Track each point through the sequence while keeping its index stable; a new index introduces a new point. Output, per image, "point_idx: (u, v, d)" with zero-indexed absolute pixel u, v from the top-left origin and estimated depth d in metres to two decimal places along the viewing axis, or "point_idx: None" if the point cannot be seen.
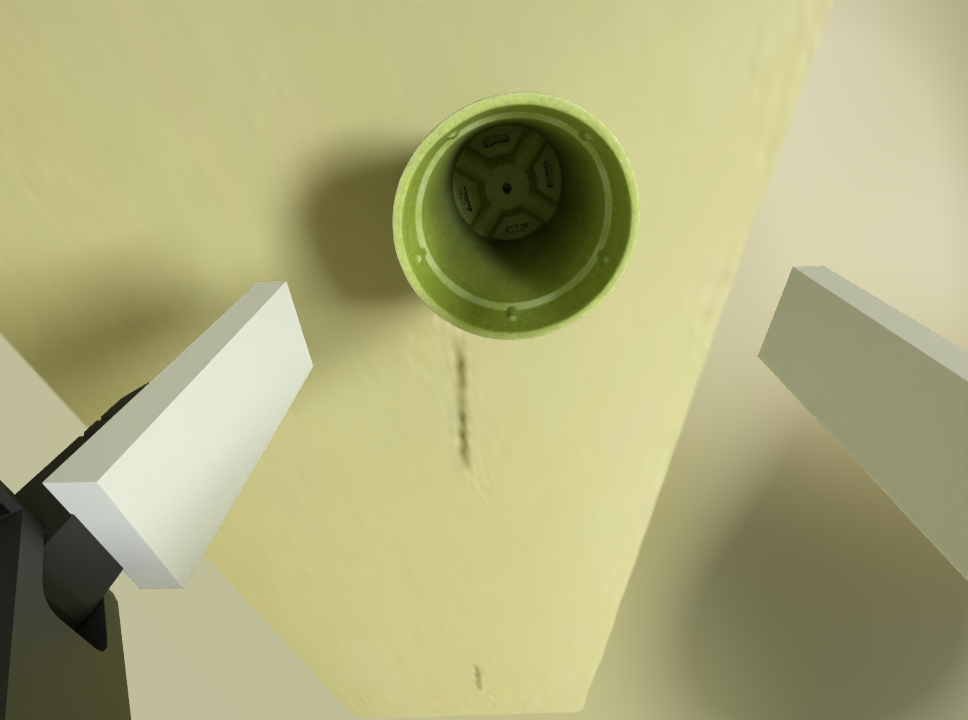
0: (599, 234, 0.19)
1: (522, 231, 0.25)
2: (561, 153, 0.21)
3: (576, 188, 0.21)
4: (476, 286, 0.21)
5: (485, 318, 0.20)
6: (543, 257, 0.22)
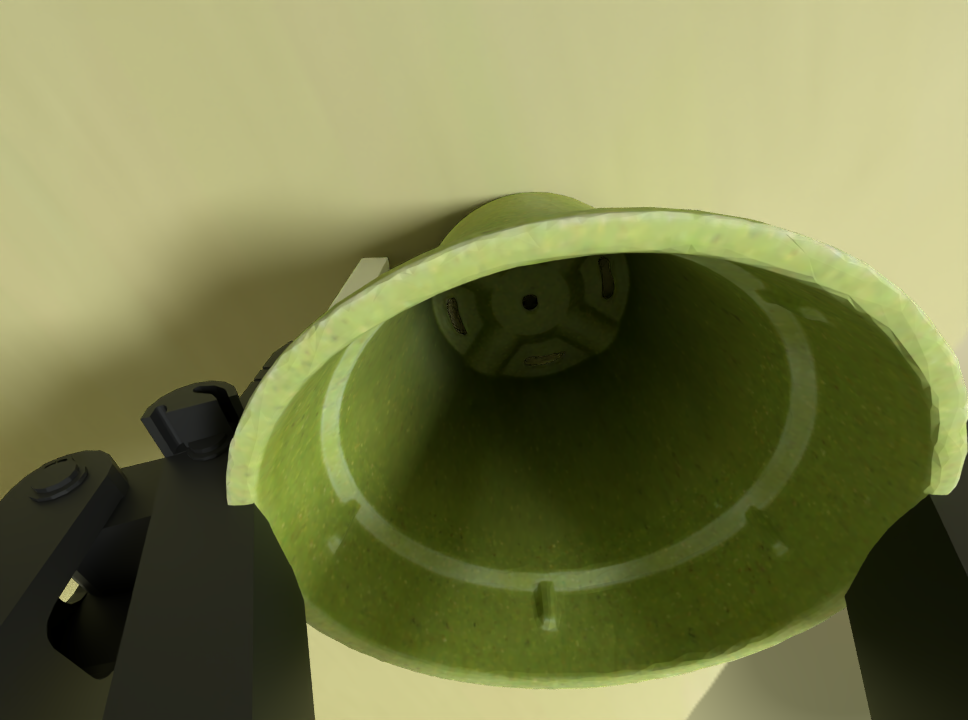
0: (753, 473, 0.08)
1: (554, 364, 0.14)
2: (642, 256, 0.11)
3: (673, 328, 0.10)
4: (473, 528, 0.10)
5: (491, 624, 0.09)
6: (599, 441, 0.12)
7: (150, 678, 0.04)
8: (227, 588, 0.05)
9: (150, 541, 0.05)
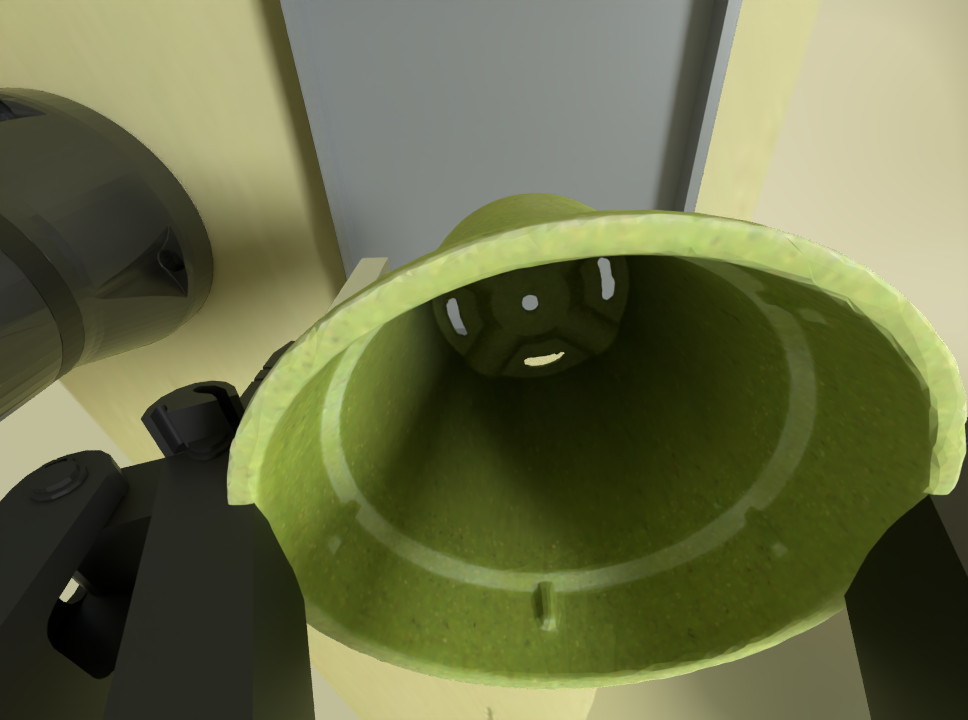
0: (752, 473, 0.08)
1: (554, 365, 0.14)
2: (642, 257, 0.11)
3: (673, 329, 0.10)
4: (472, 528, 0.10)
5: (491, 624, 0.09)
6: (599, 442, 0.12)
7: (151, 678, 0.04)
8: (228, 586, 0.05)
9: (151, 541, 0.05)
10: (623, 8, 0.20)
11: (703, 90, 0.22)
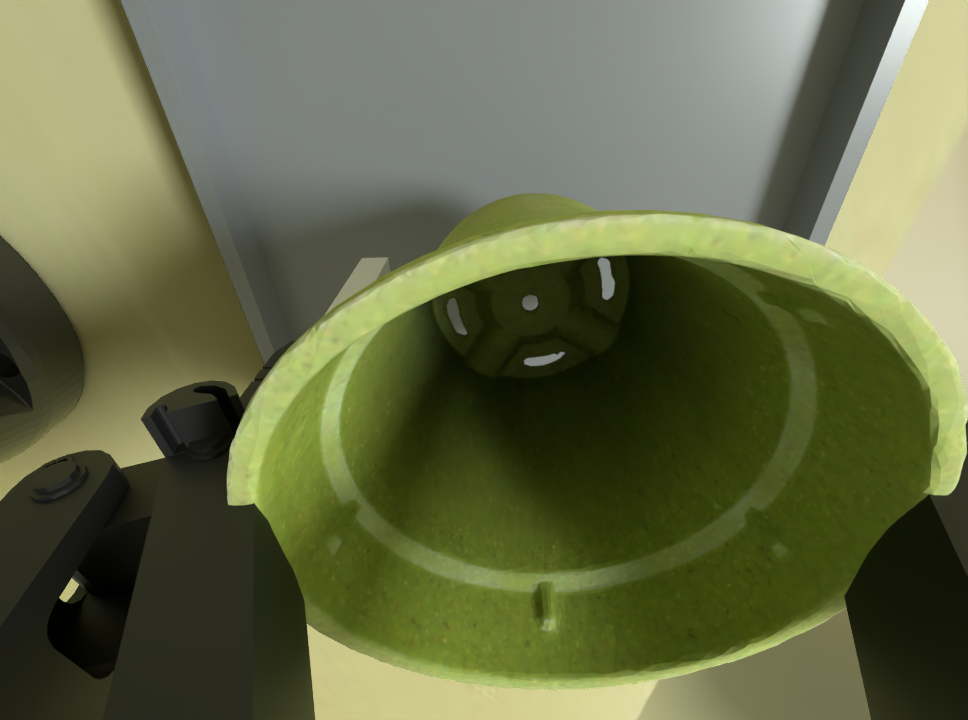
0: (752, 474, 0.08)
1: (555, 365, 0.14)
2: (642, 257, 0.11)
3: (673, 329, 0.10)
4: (473, 529, 0.10)
5: (491, 625, 0.09)
6: (599, 442, 0.12)
7: (151, 678, 0.04)
8: (228, 587, 0.05)
9: (150, 541, 0.05)
10: None
11: (840, 117, 0.13)
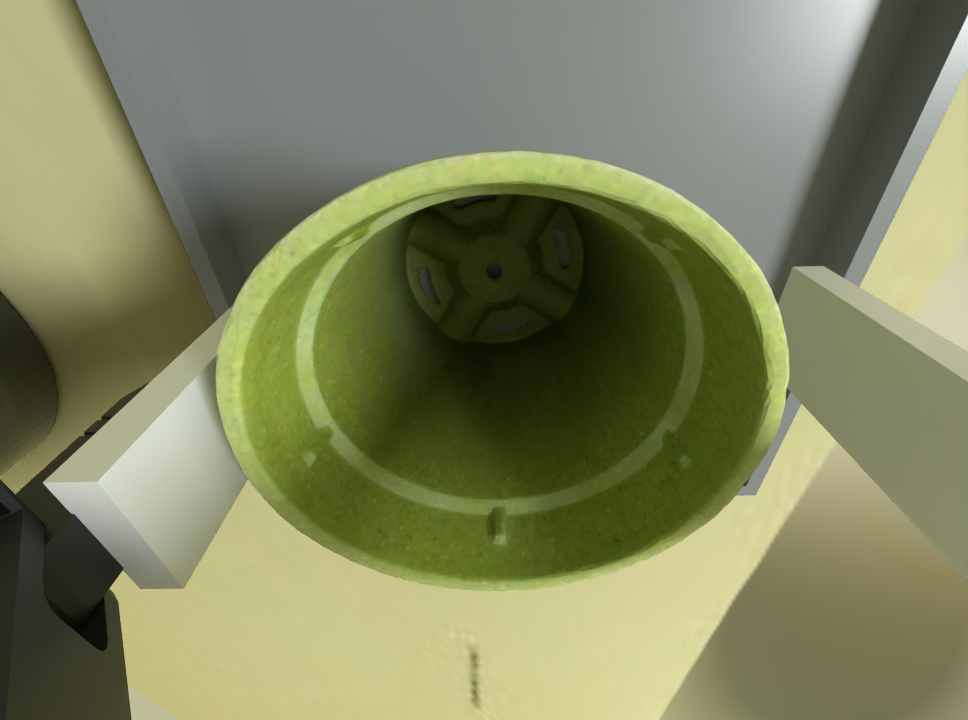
0: (666, 401, 0.10)
1: (521, 331, 0.16)
2: (586, 225, 0.12)
3: (613, 287, 0.12)
4: (437, 464, 0.12)
5: (450, 540, 0.11)
6: (554, 393, 0.13)
7: None
8: None
9: None
10: None
11: (891, 127, 0.12)
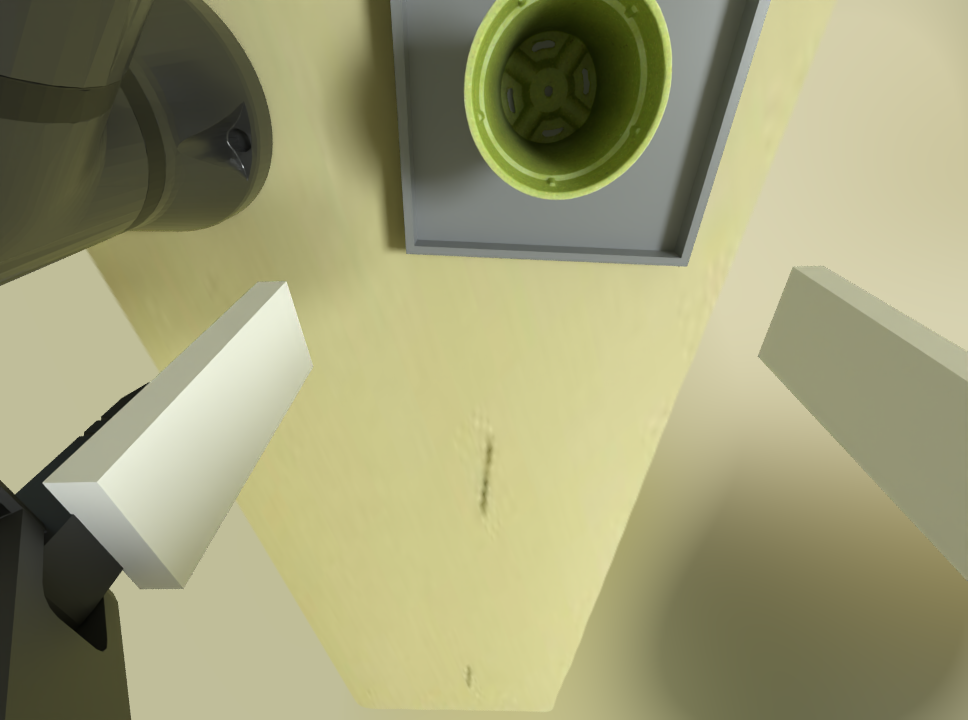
0: (632, 113, 0.22)
1: (557, 135, 0.28)
2: (600, 55, 0.24)
3: (611, 85, 0.24)
4: (521, 161, 0.24)
5: (529, 182, 0.23)
6: (577, 149, 0.26)
7: None
8: None
9: None
10: None
11: (748, 18, 0.24)
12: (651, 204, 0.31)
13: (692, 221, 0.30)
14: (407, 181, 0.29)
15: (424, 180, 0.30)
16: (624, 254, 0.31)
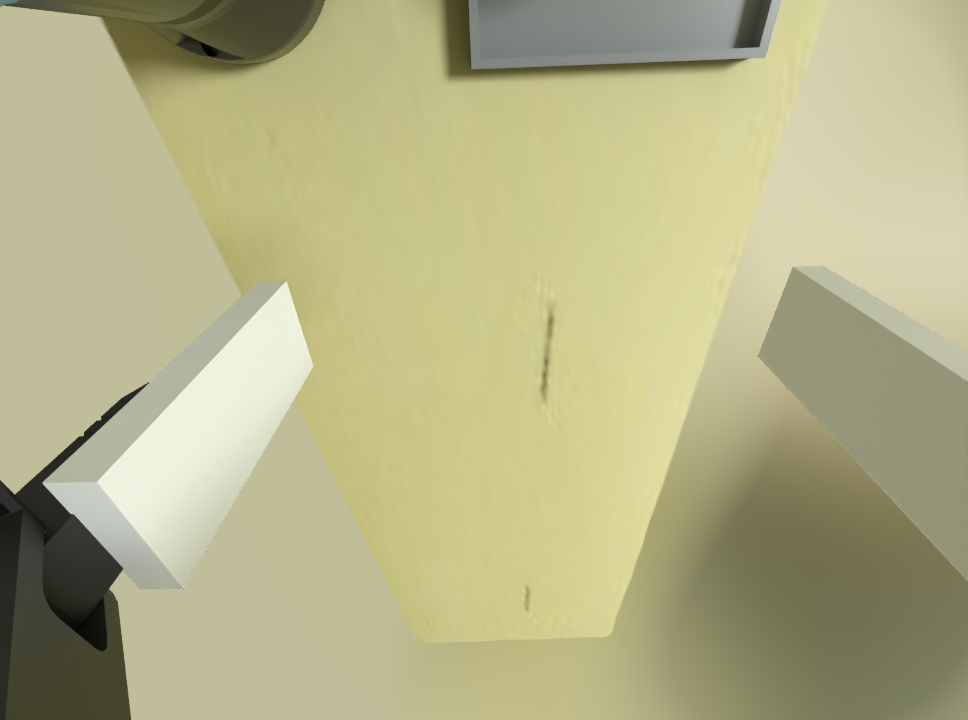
0: None
1: None
2: None
3: None
4: None
5: None
6: None
7: None
8: None
9: None
10: None
11: None
12: None
13: None
14: None
15: None
16: (698, 49, 0.30)
